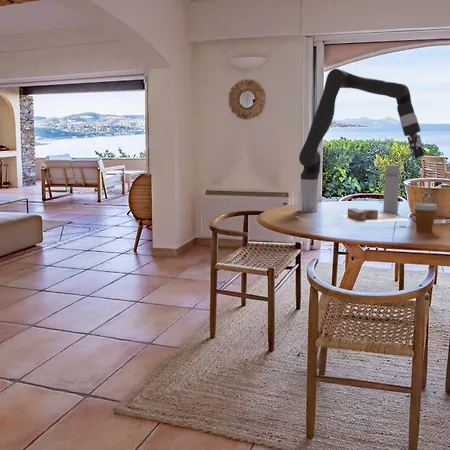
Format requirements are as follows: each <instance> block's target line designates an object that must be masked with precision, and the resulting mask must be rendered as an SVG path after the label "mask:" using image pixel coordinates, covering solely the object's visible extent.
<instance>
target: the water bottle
mask: <svg viewBox="0 0 450 450" xmlns="http://www.w3.org/2000/svg"><path fill="white" fill-rule="evenodd" d="M384 169H385V171H384V174H383V175H382V176H383V179H382V180H384V183H382V185H381V186H382V189H380V190H381V191H380V192H382V190H383V194H380V196H379V198H381V196H382V201H381V200H379V201H380V202H379V203H380V204H382V203H383V208H382V209H383V210H382V211H385V212H389V213H390V214H396V213H398V208H399V207H398V206H399V205H398V204H399V188H400V172H401V171H400V165H399V164H386V165H385V168H384Z"/></svg>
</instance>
